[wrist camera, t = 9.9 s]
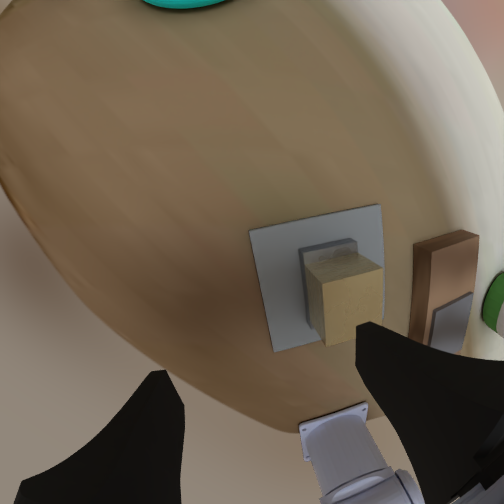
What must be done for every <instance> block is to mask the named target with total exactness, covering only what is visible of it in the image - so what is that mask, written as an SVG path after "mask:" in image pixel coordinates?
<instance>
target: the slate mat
mask: <svg viewBox="0 0 504 504" xmlns="http://www.w3.org/2000/svg"><path fill="white" fill-rule="evenodd" d="M249 235H250V240H251V245H252V250H253V254H254V259H255V264H256V269H257V274H258V278H259V283H260V288H261V293H262V298H263V303H264V307H265V312H266V317H267V322H268V327H269V332H270V336H271V341H272V346H273V350H274V352H278V351H282V350H286V349H289V348H293V347H297V346H301V345H304V344H308V343H312V342H315V341H318V340H321V338H320V336H319V335H318V333H317V331H316V330H315V329H313V330H311V329H310V327H309V325H308V324H307V321H306V311H305V302H304V293H303V284H302V275H301V267H300V259H299V252H298V248H303V247H307V246H312V245H317V244H322V243H327V242H331V241H336V240H341V239H346V238H352V239H353V240H355V241H357V244H358V253H360V254H361V255H363V256H365V257H366V258H368V259H369V260H371V261H373V262H374V263H376V264H378V265H379V266H381V267H382V268H383V307H382V319H384V287H385V282H384V244H383V228H382V215H381V205H380V204H374V205H369V206H364V207H358V208H353V209H348V210H343V211H338V212H333V213H328V214H323V215H318V216H313V217H308V218H303V219H299V220H294V221H289V222H284V223H280V224H275V225H270V226H266V227H261V228H256V229H252V230H249Z"/></svg>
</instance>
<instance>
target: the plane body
mask: <svg viewBox="0 0 504 504" xmlns="http://www.w3.org/2000/svg"><path fill="white" fill-rule="evenodd" d="M413 246H414V261H413V290H412V305H411V317H410V326H409V335H408V338H409V339H412V340H414V341H417V342H419V343H422V344H424V345H427V346H430V347H433V348H435V349H438V350H441V351H445V352H448V353H452V354H456V355H460V352H461V349H462V345H463V341H464V337H465V333H466V329H467V325H468V320H469V315H470V310H471V305H472V300H473V293H474V287H475V280H476V271H477V262H478V250H479V235H477V234H474V233H471V232H468V231H465V230H459V231H456V232H453V233H449V234H446V235H443V236H440V237H436V238H433V239H430V240H426V241H423V242H419V243H416V244H413Z"/></svg>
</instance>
